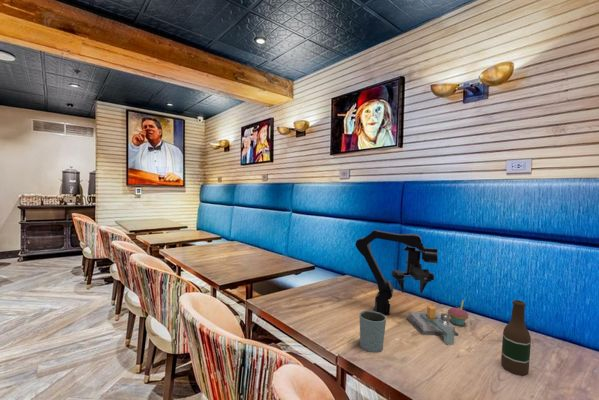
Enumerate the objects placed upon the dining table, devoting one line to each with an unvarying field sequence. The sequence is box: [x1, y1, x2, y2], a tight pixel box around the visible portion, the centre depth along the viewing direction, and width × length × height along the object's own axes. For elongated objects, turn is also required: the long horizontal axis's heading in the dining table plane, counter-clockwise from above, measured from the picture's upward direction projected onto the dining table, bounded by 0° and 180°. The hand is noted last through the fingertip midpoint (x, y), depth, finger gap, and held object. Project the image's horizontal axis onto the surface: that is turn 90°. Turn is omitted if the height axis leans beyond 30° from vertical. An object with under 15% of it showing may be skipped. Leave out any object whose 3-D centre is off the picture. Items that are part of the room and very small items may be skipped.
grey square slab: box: [405, 311, 459, 345], centre depth 127 cm, size 16×24×6 cm
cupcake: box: [447, 299, 469, 327], centre depth 135 cm, size 9×8×12 cm
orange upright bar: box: [426, 305, 437, 319], centre depth 130 cm, size 3×3×8 cm
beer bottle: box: [500, 299, 532, 377], centre depth 100 cm, size 8×8×24 cm
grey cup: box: [358, 310, 387, 354], centre depth 111 cm, size 10×10×12 cm
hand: (411, 292), depth 138 cm, fingers open, 9 cm apart
